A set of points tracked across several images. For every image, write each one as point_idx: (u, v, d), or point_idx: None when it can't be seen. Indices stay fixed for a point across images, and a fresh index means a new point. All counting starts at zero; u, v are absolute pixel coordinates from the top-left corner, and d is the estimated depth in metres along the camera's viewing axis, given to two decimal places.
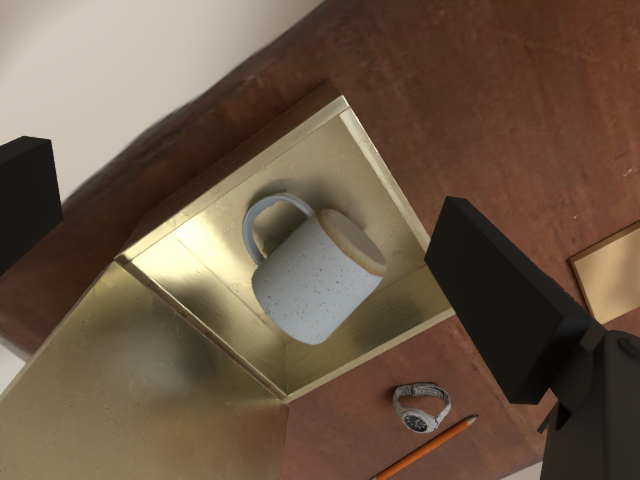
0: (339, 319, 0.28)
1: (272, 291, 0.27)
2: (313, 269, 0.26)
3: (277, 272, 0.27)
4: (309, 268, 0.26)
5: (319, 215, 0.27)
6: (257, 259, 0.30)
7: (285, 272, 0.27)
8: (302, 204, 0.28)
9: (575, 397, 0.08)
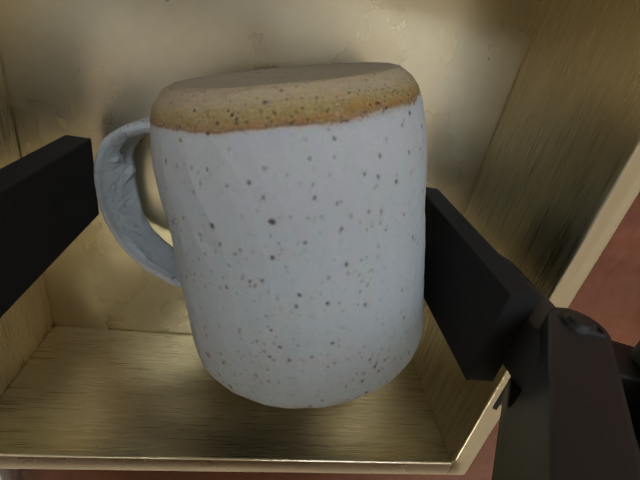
0: (391, 295, 0.09)
1: (202, 339, 0.10)
2: (202, 235, 0.08)
3: (184, 293, 0.11)
4: (196, 243, 0.09)
5: None
6: None
7: (187, 284, 0.10)
8: (140, 120, 0.11)
9: (525, 373, 0.09)
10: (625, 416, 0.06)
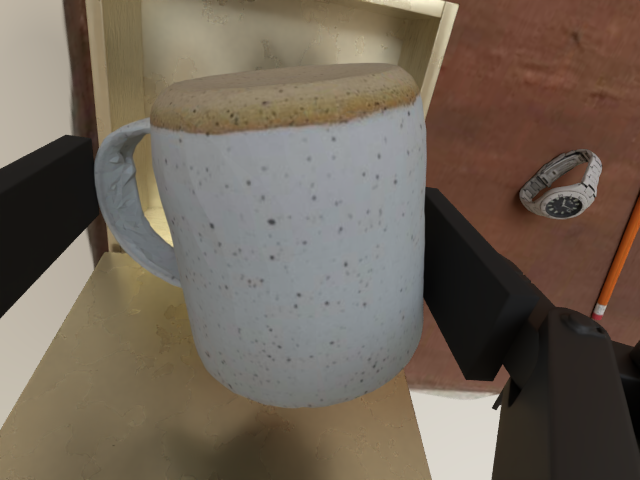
0: (390, 295, 0.09)
1: (202, 339, 0.10)
2: (202, 235, 0.08)
3: (184, 293, 0.11)
4: (196, 243, 0.09)
5: None
6: None
7: (187, 284, 0.10)
8: (140, 120, 0.11)
9: (524, 373, 0.09)
10: (625, 416, 0.06)
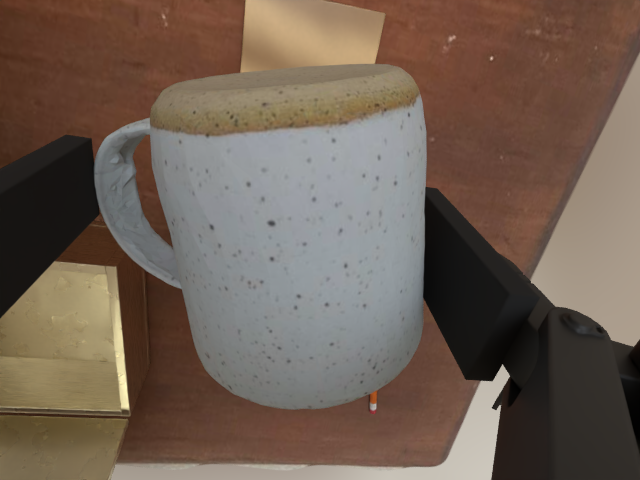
0: (390, 296, 0.09)
1: (202, 340, 0.10)
2: (201, 237, 0.08)
3: (184, 294, 0.11)
4: (196, 244, 0.09)
5: None
6: None
7: (187, 285, 0.10)
8: (140, 121, 0.11)
9: (524, 373, 0.09)
10: (624, 416, 0.06)
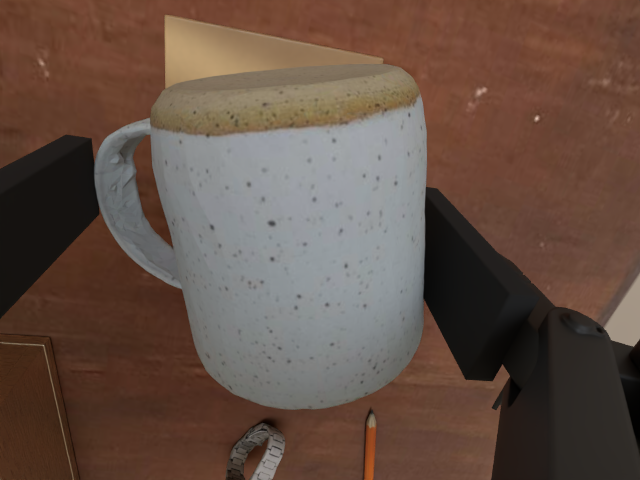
0: (390, 296, 0.09)
1: (202, 340, 0.10)
2: (201, 237, 0.08)
3: (184, 294, 0.11)
4: (196, 244, 0.09)
5: None
6: None
7: (187, 286, 0.10)
8: (141, 121, 0.11)
9: (524, 373, 0.09)
10: (624, 416, 0.06)
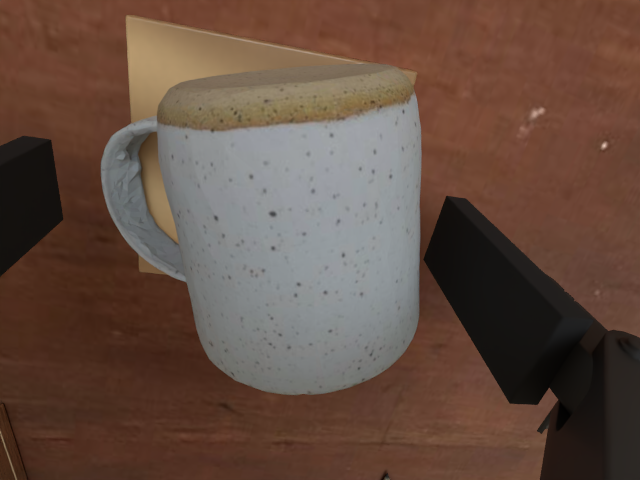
0: (386, 285, 0.10)
1: (206, 329, 0.11)
2: (205, 228, 0.09)
3: (189, 285, 0.11)
4: (201, 235, 0.09)
5: None
6: None
7: (191, 276, 0.10)
8: (146, 119, 0.12)
9: (575, 397, 0.08)
10: None
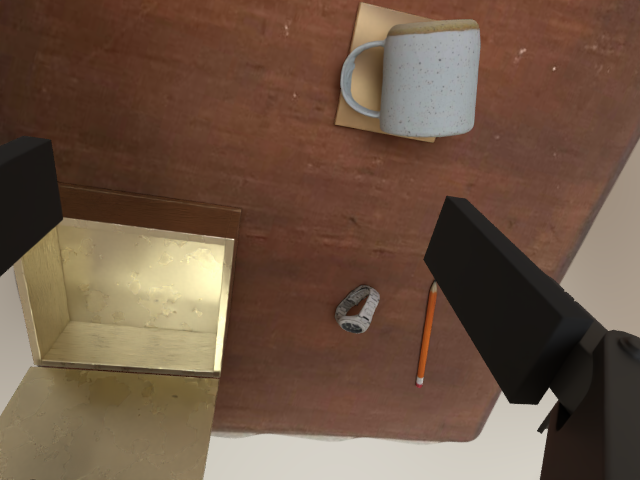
0: (468, 93, 0.29)
1: (399, 116, 0.30)
2: (414, 68, 0.28)
3: (392, 100, 0.30)
4: (410, 71, 0.28)
5: (389, 33, 0.29)
6: (374, 114, 0.33)
7: (397, 93, 0.29)
8: None
9: (575, 397, 0.08)
10: None
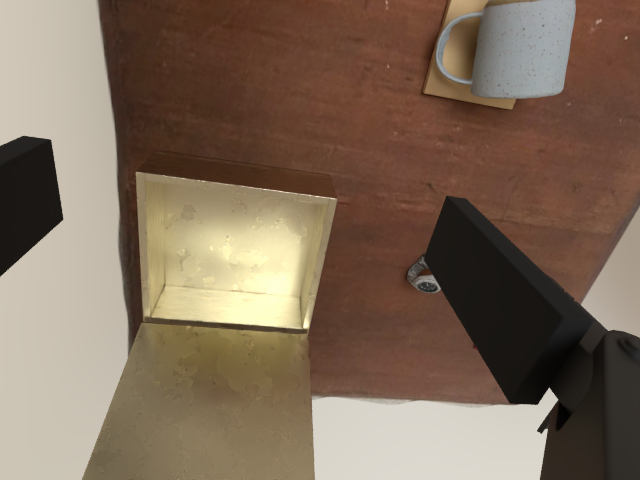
0: (564, 57, 0.32)
1: (498, 79, 0.33)
2: (517, 34, 0.31)
3: (491, 65, 0.33)
4: (514, 37, 0.31)
5: (489, 4, 0.32)
6: (466, 81, 0.36)
7: (497, 59, 0.32)
8: None
9: (575, 397, 0.08)
10: None
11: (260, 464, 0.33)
